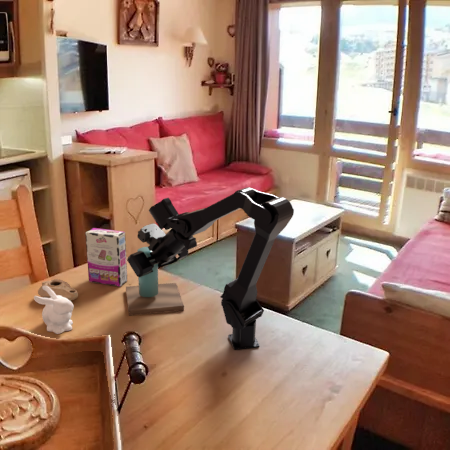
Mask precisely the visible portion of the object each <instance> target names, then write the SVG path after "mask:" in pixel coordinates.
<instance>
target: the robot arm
mask: <svg viewBox="0 0 450 450" xmlns="http://www.w3.org/2000/svg"><path fill="white" fill-rule="evenodd" d="M240 209H241V210H242V211H243V212H244V213H245V214H246V215H247V217H249V218H251V219H252V220H253V226H254V229H255V234H254V235H253V239H252V241H251V243H250V246H249V249H248V251H247V253H246V256H245V258H244V260H243V261H244V262H243V264H242V266H241V269H240V271H239V274H238V276H237V278H235V279H233V280H231V281H229V282H228V283H226V284H225V285H224V287H223V288H224V289H223V293H222V294H221V295H220V296H219V297H220V299H221V302H220V304H221V305H220V306H222V309H223V313H224V319H225V321H226V324H228V325H230V326H231V328H232V333H230V334H228V335H227V336H228V339H229V341H230V344H231V347H232V348H233V350H245V349H253V348H255V349H256V348H259V347H260V343H259V341H258V339H257V337H256V333H257V330H256V326H257V319H259V318H261V317H262V316H263V315H264V312H265V310H264V308H263V306H262V305H261V304H260V302H259V300H258V299H257V297H258V288H257V282H258V280H259V278H260V276H261V274H262V272H263V269H264V266H265V263H266V262H267V260H268V257H269V255H270V252H271V250H272V247H273V246H274V243H275V240H276V238H277V237H278V236H279V235H280V234H281V232H283V231H284V230H285V228H286V227H287V226H288V224H289V223H290V221H291V220H292V218H293V216H294V214H295V213H294V212H295V209H294V208H293V205H292V202H291V201H290V200H288V199H287V198H285V197H282V196H279V197H278V196H276V195H274V194H272V193H271V194H270V193H267V192H264V191H263V192H262V191H259V190H257V189H255V188H252V187H249V186H247V187H244V188H241V189H237V190H235V192H234V193H232V194H230V195H228V196H226V197H224V198H222V199H220V200H218V201H217V202H215V203H213V204H210V205H208V206H207V207H203V208H201V209H196V210H193V211H190V212H189V211H185V212H182V213H180V214H179V212H178V210H177V209H176V208H175V206H174V205H173V203H172V200H171V198H169V197H165V198H163V199H162V200H160V201H159V202H156V204H154V205H152V206H150V207H149V209H148V212H149V214H150V216H151V217H152V218H153V220H154V222H155V223H150V224H147V225H144V226H143V227H142V228H140V229H139V230H138V231H137V239H138V240H139V241H140V242H142V243H146V244H147V245H149V246H147V247H148V249H149V250H150V251H152V252H150V255H151V256H150V257H146V255H145V253H144V252H142V251H138V252H137V251H136V252H133V253H131V254H129V256H127V257H126V261H127V262H128V264H129V266H130V267H131V269H132V271H133V272H134V275H136V276H137V277H142V276H144V275H147V274H149V273H152V272H153V270H152V268H153V267H154V265H155V264H157V263H158V268H162V267H165V266H169V265H172V264H175V263H176V262H178V261H181V260H183V259H185V258H186V257H188V256H189V250H191V249H194V248H196V247H198V243H197V237H194V236H195V235H198V234H201V233H203V232H205V231H207V230H208V229H209V228H211V227H212V226H213V225H214V223H215V222H216V221H218V220H219V219H222V218H224V217H226V216H228V215H230V214H233V213H234V212H236V211H238V210H240ZM163 229H164V230H165V231H167V233H165V231H164V230H163ZM168 230H169V231H168ZM177 255H178V257H177ZM154 260H155V261H154Z"/></svg>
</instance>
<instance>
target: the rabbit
mask: <svg viewBox="0 0 450 450" xmlns="http://www.w3.org/2000/svg"><path fill="white" fill-rule="evenodd" d="M42 288H43V290H45V291H46V292H47V293H48V294H49V295H50V296H51V298H45V297H42V296H38V295H33V299H34V301H35V302H36V303H38V304H39V305H45V306H44V307H43V308H42V311H41V312H42V313H41V318H42V321H43V322H44V324H45V325H46V331H47V332H53V333H54V334H55V335H59V334H62V333H63V332H69V331H72V330H73V324H74V322H73V320H72V315H73V310H74V308H75V307H74V304H73V302H72V300H68V299H67V298H65V297H62V296H60V295H56V294H55V293H54V291H53V290H52V289H51V288H49V287H48V286H43V287H42Z"/></svg>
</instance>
